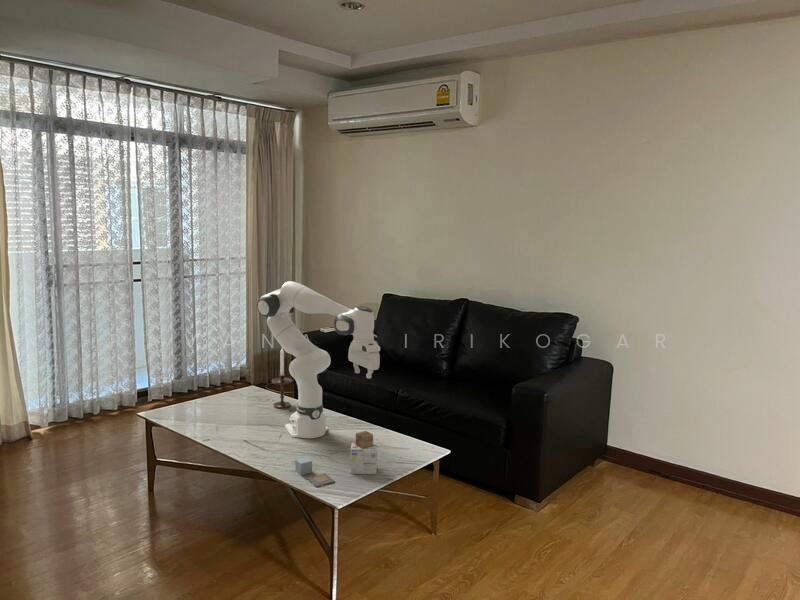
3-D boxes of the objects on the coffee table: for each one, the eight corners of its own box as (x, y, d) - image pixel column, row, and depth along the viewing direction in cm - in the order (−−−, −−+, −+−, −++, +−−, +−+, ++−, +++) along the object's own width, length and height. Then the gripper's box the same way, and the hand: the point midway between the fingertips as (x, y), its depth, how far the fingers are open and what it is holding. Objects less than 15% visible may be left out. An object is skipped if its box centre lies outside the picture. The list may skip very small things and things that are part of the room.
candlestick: (287, 401, 320) (287, 339, 315) (295, 407, 311) (295, 343, 306) (268, 404, 314) (268, 341, 309) (276, 410, 305) (275, 345, 300)
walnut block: (355, 445, 236) (355, 433, 235) (365, 442, 239) (365, 430, 238) (362, 449, 232) (362, 437, 231) (372, 446, 235) (373, 434, 234)
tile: (307, 479, 228) (307, 477, 227) (325, 474, 232) (325, 472, 232) (316, 487, 221) (316, 485, 221) (334, 482, 226) (334, 480, 226)
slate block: (295, 471, 235) (295, 459, 234) (306, 468, 238) (306, 456, 237) (300, 475, 231) (300, 463, 230) (312, 472, 234) (312, 460, 233)
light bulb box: (376, 467, 240) (377, 442, 239) (376, 474, 234) (377, 449, 232) (350, 467, 240) (351, 442, 238) (350, 474, 233) (350, 448, 232)
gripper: (344, 340, 257) (344, 370, 259) (369, 349, 240) (369, 382, 242) (357, 339, 260) (356, 369, 262) (382, 348, 244) (381, 380, 246)
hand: (362, 375), depth 252 cm, fingers open, 8 cm apart
